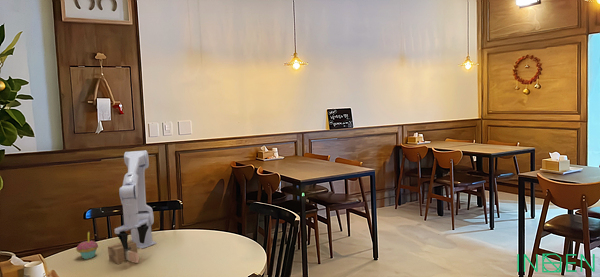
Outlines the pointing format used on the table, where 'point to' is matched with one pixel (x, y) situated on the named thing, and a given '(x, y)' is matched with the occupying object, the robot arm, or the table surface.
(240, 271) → the table surface
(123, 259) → the dispenser
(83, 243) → the cupcake
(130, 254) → the pink flat bar
